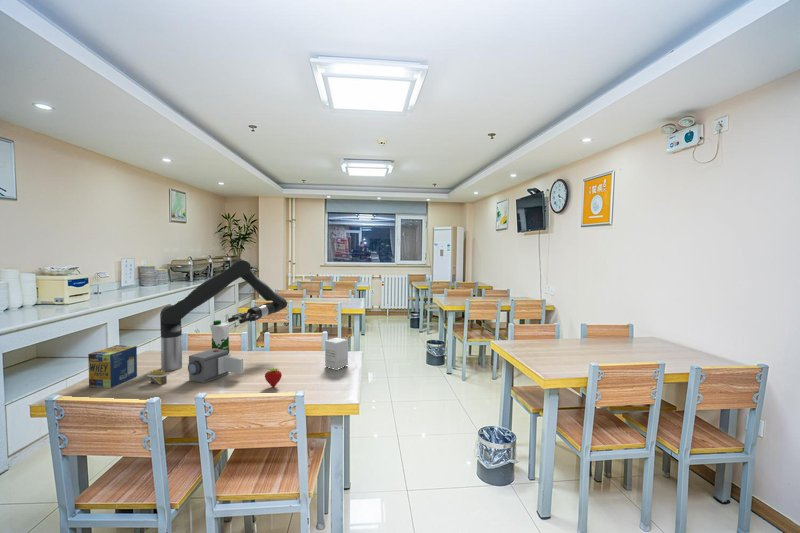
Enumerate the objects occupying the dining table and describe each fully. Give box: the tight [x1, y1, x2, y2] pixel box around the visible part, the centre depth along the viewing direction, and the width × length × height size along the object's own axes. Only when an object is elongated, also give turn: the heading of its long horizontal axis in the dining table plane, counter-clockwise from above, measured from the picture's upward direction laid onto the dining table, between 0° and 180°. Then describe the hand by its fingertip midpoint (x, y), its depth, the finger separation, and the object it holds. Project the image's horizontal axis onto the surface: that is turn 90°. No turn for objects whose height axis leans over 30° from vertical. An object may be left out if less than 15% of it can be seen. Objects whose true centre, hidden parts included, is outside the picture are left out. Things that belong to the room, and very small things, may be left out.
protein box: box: [87, 344, 138, 389], centre depth 163 cm, size 10×15×16 cm
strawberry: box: [264, 367, 283, 388], centre depth 160 cm, size 6×8×10 cm
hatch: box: [218, 353, 244, 375], centre depth 170 cm, size 7×12×8 cm, turn 70°
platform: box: [147, 369, 171, 385], centre depth 162 cm, size 12×18×7 cm, turn 87°
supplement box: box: [324, 337, 349, 369], centre depth 188 cm, size 9×9×15 cm
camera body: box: [187, 348, 230, 384], centre depth 170 cm, size 16×10×13 cm, turn 160°
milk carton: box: [209, 319, 231, 353], centre depth 210 cm, size 9×9×20 cm
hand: (234, 321), depth 184 cm, fingers open, 8 cm apart
